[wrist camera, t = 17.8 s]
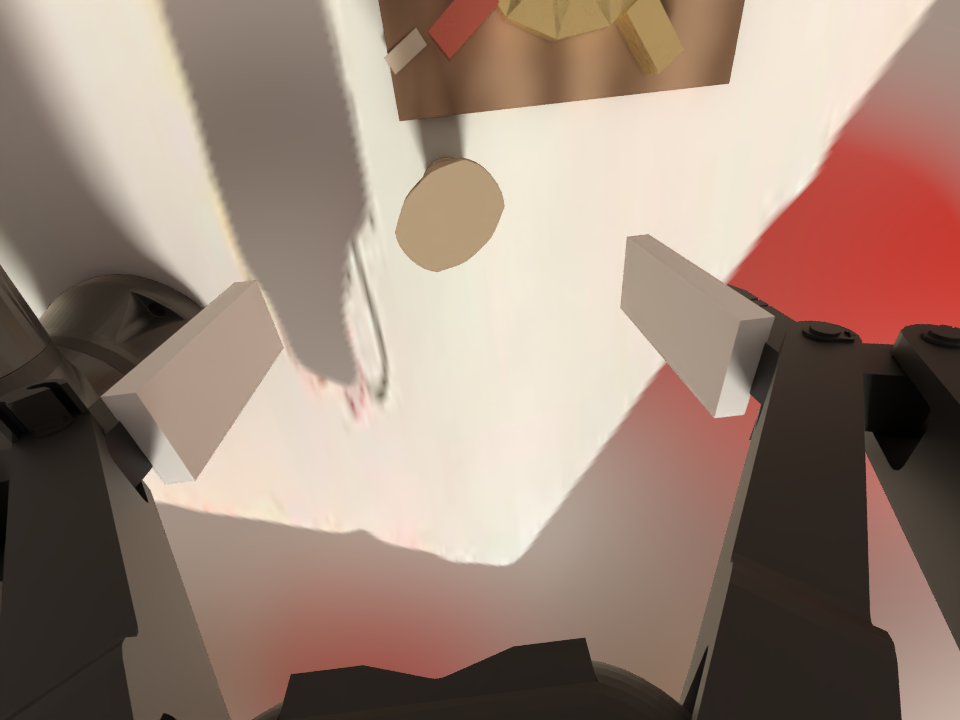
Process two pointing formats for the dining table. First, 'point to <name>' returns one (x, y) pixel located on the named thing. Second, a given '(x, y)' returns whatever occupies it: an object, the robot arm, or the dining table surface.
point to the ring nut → (567, 24)
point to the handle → (449, 214)
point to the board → (545, 60)
